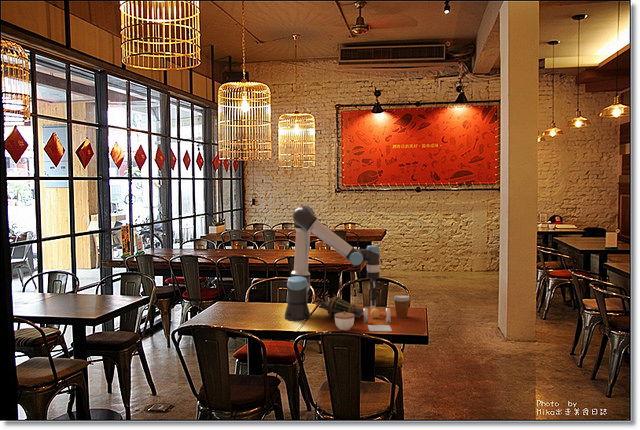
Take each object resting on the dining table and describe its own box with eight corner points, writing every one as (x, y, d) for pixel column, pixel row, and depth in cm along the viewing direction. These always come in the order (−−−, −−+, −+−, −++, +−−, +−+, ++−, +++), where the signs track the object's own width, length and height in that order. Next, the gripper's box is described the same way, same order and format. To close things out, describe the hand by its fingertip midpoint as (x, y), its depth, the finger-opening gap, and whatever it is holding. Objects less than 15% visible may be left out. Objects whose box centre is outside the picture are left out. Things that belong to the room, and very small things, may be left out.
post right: (386, 323, 321) (386, 308, 320) (385, 321, 323) (385, 307, 323) (390, 323, 321) (390, 308, 320) (390, 321, 323) (390, 307, 323)
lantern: (355, 330, 320) (305, 313, 326) (360, 324, 343) (313, 309, 349) (362, 307, 320) (312, 290, 326) (367, 302, 343) (319, 287, 349)
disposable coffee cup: (398, 319, 330) (398, 298, 329) (390, 315, 339) (390, 295, 338) (413, 317, 333) (413, 297, 333) (404, 314, 342) (404, 294, 342)
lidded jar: (352, 332, 302) (352, 314, 301) (332, 330, 305) (332, 313, 304) (356, 327, 312) (356, 310, 311) (337, 325, 315) (337, 308, 314)
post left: (363, 323, 321) (363, 309, 320) (363, 322, 323) (363, 308, 323) (368, 323, 321) (368, 308, 320) (367, 322, 323) (367, 307, 323)
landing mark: (369, 331, 303) (369, 330, 303) (367, 325, 315) (367, 325, 315) (392, 331, 303) (392, 330, 303) (389, 325, 315) (389, 325, 315)
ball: (370, 319, 330) (370, 309, 330) (369, 316, 336) (369, 307, 335) (380, 319, 330) (380, 309, 330) (379, 316, 336) (379, 307, 335)
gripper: (380, 273, 336) (380, 313, 337) (378, 269, 349) (378, 308, 350) (367, 273, 336) (367, 313, 337) (365, 269, 349) (365, 308, 350)
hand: (373, 310), depth 344 cm, fingers closed
